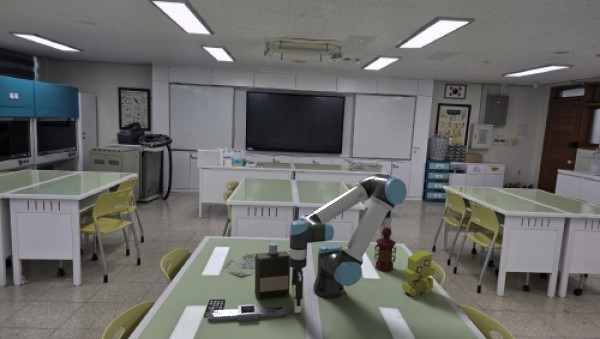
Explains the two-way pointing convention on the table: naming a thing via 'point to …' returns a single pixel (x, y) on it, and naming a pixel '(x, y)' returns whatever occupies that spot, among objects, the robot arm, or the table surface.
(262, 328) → the table surface
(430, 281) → the toy
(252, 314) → the grey metal bar device
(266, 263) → the bottle
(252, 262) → the stone slab
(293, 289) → the pin
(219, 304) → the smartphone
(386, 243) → the lantern
